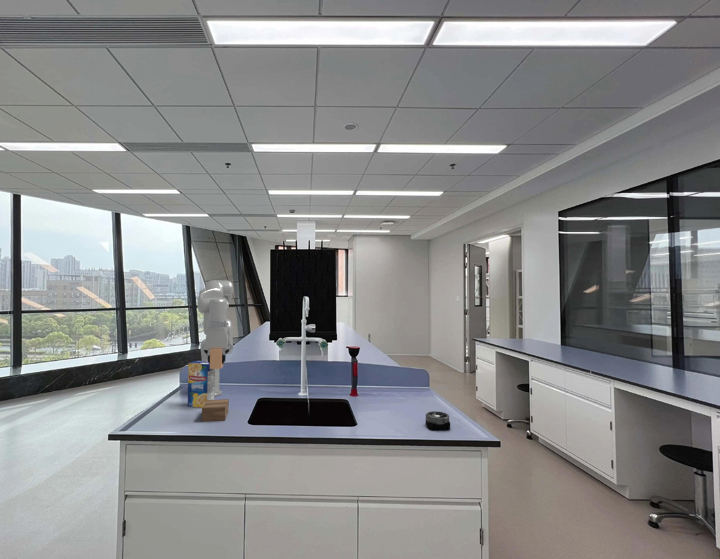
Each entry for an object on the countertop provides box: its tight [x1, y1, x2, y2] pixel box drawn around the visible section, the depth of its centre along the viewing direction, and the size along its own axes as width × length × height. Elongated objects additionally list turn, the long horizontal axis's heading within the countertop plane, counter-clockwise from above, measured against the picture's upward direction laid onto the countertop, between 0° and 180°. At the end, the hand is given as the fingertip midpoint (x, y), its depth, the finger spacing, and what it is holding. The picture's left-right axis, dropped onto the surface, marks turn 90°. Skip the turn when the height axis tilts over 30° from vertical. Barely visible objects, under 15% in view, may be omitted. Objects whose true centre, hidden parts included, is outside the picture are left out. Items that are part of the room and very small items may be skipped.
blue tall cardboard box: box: [187, 360, 216, 409], centre depth 206 cm, size 7×11×22 cm, turn 79°
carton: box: [210, 349, 224, 370], centre depth 188 cm, size 7×5×9 cm
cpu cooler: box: [425, 410, 451, 431], centre depth 176 cm, size 10×6×10 cm
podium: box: [201, 398, 230, 423], centre depth 188 cm, size 14×10×6 cm
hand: (216, 363), depth 188 cm, fingers closed on carton, 5 cm apart
